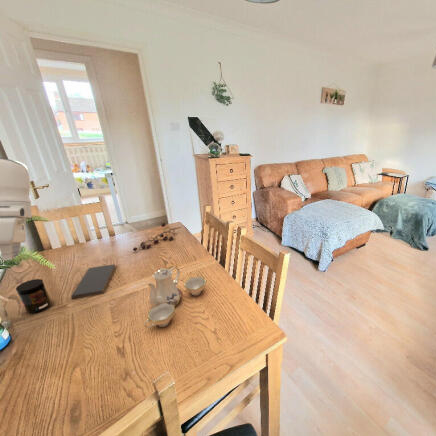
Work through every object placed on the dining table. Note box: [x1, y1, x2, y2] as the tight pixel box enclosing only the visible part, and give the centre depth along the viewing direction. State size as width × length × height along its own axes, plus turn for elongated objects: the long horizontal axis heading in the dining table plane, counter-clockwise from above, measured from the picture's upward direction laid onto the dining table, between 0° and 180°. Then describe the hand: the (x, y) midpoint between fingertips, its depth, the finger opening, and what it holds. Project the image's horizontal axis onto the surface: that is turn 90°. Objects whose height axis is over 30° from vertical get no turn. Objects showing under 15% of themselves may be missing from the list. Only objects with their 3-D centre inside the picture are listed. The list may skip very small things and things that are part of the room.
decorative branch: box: [132, 222, 182, 252], centre depth 138 cm, size 11×9×30 cm
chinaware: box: [144, 266, 207, 329], centre depth 91 cm, size 28×17×17 cm, turn 167°
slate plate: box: [71, 263, 116, 300], centre depth 104 cm, size 10×20×2 cm, turn 22°
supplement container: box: [15, 278, 52, 314], centre depth 87 cm, size 7×7×10 cm
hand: (11, 259), depth 71 cm, fingers open, 8 cm apart
